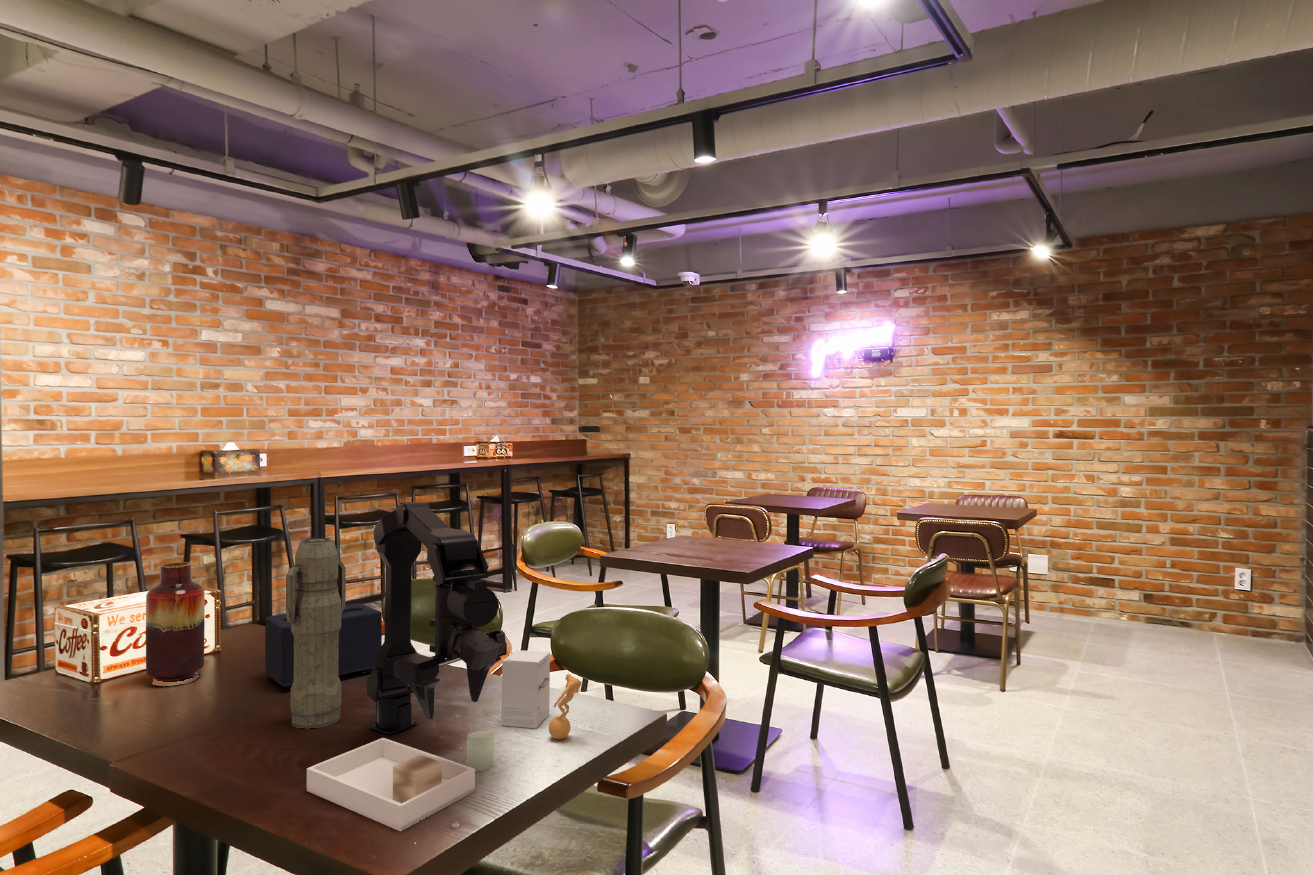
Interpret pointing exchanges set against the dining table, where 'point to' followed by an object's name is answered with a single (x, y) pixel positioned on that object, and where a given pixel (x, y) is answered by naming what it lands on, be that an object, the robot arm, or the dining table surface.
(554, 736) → the figurine
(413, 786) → the beech cube
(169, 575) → the vase
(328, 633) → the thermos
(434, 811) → the bin
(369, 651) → the speaker
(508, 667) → the supplement box
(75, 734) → the dining table surface
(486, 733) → the green cylinder
